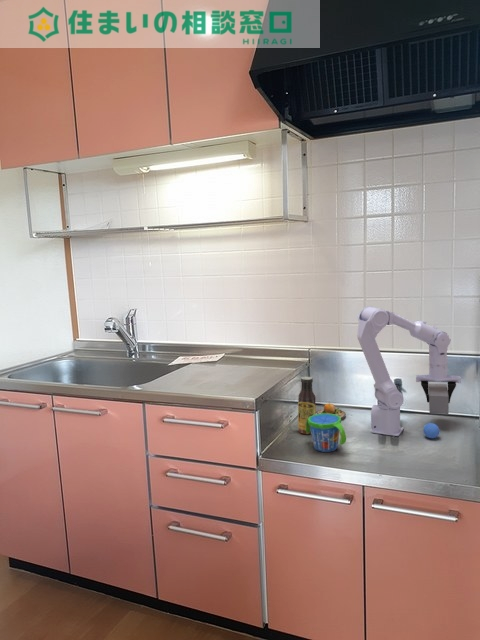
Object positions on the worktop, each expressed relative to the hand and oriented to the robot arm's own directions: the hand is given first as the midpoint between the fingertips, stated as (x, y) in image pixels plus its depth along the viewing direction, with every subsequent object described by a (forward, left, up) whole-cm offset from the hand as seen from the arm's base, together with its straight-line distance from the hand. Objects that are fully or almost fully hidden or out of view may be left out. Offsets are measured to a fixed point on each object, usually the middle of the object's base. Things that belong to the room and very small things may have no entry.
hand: (438, 401), depth 174 cm
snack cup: (-29, -34, -9) cm, 46 cm away
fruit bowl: (-38, -6, -9) cm, 40 cm away
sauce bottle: (-40, -23, -9) cm, 47 cm away
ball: (0, -13, -6) cm, 14 cm away
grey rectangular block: (0, 0, -2) cm, 2 cm away
